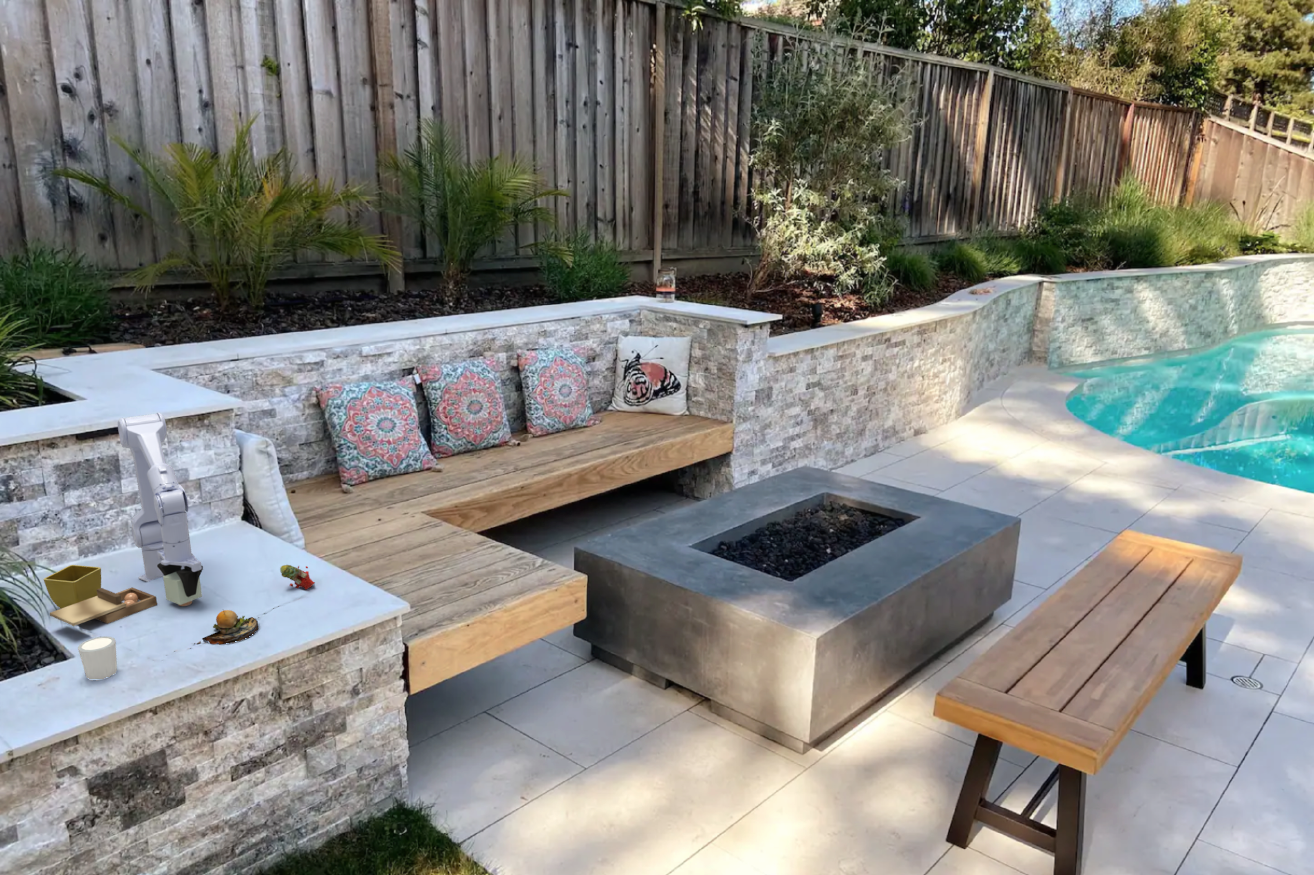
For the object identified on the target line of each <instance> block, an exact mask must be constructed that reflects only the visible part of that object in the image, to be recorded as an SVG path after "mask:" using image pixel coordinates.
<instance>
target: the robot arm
mask: <svg viewBox="0 0 1314 875" xmlns="http://www.w3.org/2000/svg"><path fill="white" fill-rule="evenodd" d="M117 430H118V436H119V441H120V445H121V447H122V448H124V449H125V448H126V449H129V450H130V452H131V454H132V457H133V462H134V463H133V464H134V470H135V476H136V483H137V489H138V495H139V500H140V508H141V509H140V510H139V511H138V512H137V513H136V514H135V515H134V516H133V517H131V520H130V521H131V523H130V524H131V537H132V540H133V543H134V546H135V547H137V548H138V549H140V550H141V554H142V560H143V567H144V573H145V574H142V575H140V576H138V579H139V580H141V581H144V582H146V583H148V582H151V581H153V580H157V579H160V578H163V576H166V575H168V574H171V573H174V572H176V573H177V574H178V576H179V577H180V579H181V581H182V583H183V587H184V591H185V594H186V596H187V597H190V596H192V595H195V594H196V591H197V584H198V580H199V577H201V573H202V572H203V570H204V567H203V565H202V561H200V560H198V559H197V557H196V556H195V555H194V554H193V552H192V546H191V537H190V531H189V524H188V517H187V516H188V515H187V513H188V512H189V499H188V496H187V493H186V491H185V489H184V487H183V486H182V484H179V481H178V478H177V475H176V473H175V470H174V467H173V466H172V465H170V464H167V463H166V459H165V454H164V450H163V445H162V443H163V442H164V441H165V438H166V435H167V433H168V432H167V431H168V429H167V423H166V420H165V416H164V415H163V414H162V413H161V412H156V413H151V414H145V415H137V416H131V417H130V416H129V417H120V418H119V419H118V421H117Z"/></svg>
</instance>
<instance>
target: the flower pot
mask: <svg viewBox="0 0 1314 875" xmlns="http://www.w3.org/2000/svg"><path fill="white" fill-rule="evenodd" d="M42 580H43V583H44V584H45V587H46V590H47V593H48V595H49V598H50V599H51V601H52V602H53V603H54V604H55V605H56V606H57V607H58V608H59V609H62V608H65V607H67V606H70V605H73V604H76V603H79V602H81V601H84V600H87V599H90V598H93V597H95V596H97V589H100V588H102V567H99V566H88V565H78V564H77V565H76V564H69V565H68V566H66V567H64V568H62V569H61V570H59V571H56V572H55V573H52V574H50V575H47V577H44V578H42Z"/></svg>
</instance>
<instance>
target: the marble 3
mask: <svg viewBox="0 0 1314 875" xmlns="http://www.w3.org/2000/svg"><path fill="white" fill-rule="evenodd" d="M192 604H193V600H192V601H189V602H187V603H184V604H182V605H179V604H177V606H179V607H186V606H190V605H192Z"/></svg>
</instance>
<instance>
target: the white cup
mask: <svg viewBox="0 0 1314 875" xmlns="http://www.w3.org/2000/svg"><path fill="white" fill-rule="evenodd" d="M116 642H117V641H116V639H115V638H114V637H112V636H98V637H93V638H90V639H87V640H84V641H83V642H82V643H80V644H78V647H77V650H78V655H79V657H80V659H81V664H82V667H83V670H84V673H85V677H86V679H87V678H89V679H103V680H105V679H104V678H106V677H109V678H111V677H112V676H111V675H113V674H114V675H115V673H116V674H117V672H118V664H117V662H118V661H117V660H118V659H117V644H116ZM116 671H117V672H116ZM114 675H113V676H114ZM110 676H111V677H110ZM106 679H107V678H106Z"/></svg>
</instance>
